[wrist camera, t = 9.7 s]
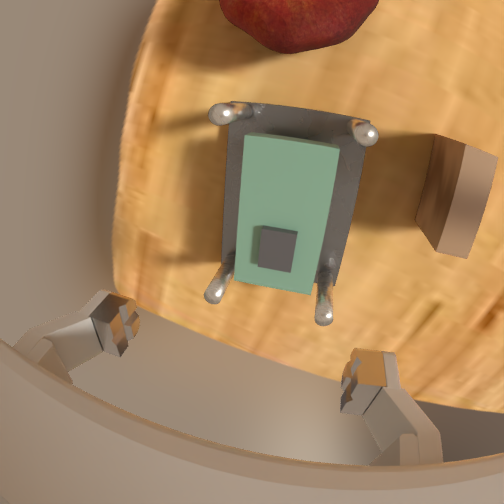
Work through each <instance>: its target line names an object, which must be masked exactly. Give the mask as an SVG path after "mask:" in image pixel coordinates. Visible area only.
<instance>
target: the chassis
mask: <svg viewBox="0 0 504 504" xmlns="http://www.w3.org/2000/svg"><path fill="white" fill-rule="evenodd" d="M208 117H209V120H210V121H211V122H212V123H213V124H215V125H225V124H229V131H228V145H227V161H226V177H225V195H224V214H223V236H222V260H221V266H220V268H219V269H218V271H217V273H216V274H215V276H214V278H213V279H212V281H211V283H210V284H209V286H208V288H207V289H206V291H205V293H204V298H205V300H206V301H207V302H209V303H210V304H218V303H219V302H220V301H221V299H222V297H223V295H224V293H225V291H226V289H227V287H228V285H229V283H230V281H231V279H232V277H233V275H234V272H235V257H236V242H237V228H238V214H239V200H240V187H241V174H242V162H243V149H244V137H245V135H246V134H248V133H251V132H254V133H263V134H271V135H279V136H287V137H294V138H300V139H307V140H313V141H319V142H324V143H330V144H335V145H338V146H339V148H340V152H339V158H338V164H337V170H336V176H335V182H334V187H333V193H332V198H331V203H330V208H329V214H328V219H327V224H326V228H325V233H324V238H323V243H322V247H321V252H320V256H319V261H318V265H317V270H316V274H315V278H314V283H317V295H316V309H315V322H316V323H317V324H318V325H320V326H327V325H329V324H331V323H332V321H333V286H335V283H336V280H337V276H338V272H339V268H340V265H341V261H342V257H343V253H344V249H345V245H346V241H347V237H348V233H349V229H350V225H351V220H352V216H353V211H354V207H355V202H356V198H357V193H358V188H359V183H360V178H361V173H362V168H363V162H364V157H365V151H366V147H368V146H372V145H374V144H375V143H376V142H377V140H378V131H377V129H376V128H375V127H374V126H373V125H371V124H370V121H369V120H365V119H360V118H356V117H351V116H346V115H341V114H335V113H330V112H324V111H318V110H311V109H305V108H298V107H290V106H282V105H273V104H263V103H251V102H238V101H231V103H219V104H215V105H213V106H212V107H211V108H210V110H209V113H208Z"/></svg>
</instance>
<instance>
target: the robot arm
mask: <svg viewBox="0 0 504 504" xmlns="http://www.w3.org/2000/svg"><path fill="white" fill-rule="evenodd" d="M136 308H137V305H136V301H135V300H134V299H132V298H129V297H126V296H123V295H120V294H117V293H114V292H110V291H107V290H104V289H102V290H100V291H99V292H98V293H97V294H96V295H95V296H94V297H93V298H92V299H91V300H90V301H89V302H88V303H87V304H86V305H85V306H84V307H83V308H82V309H81V311H79V312H73V313H70V314H67V315H65V316H62V317H59V318H57V319H54V320H51V321H49V322H46V323H43V324H41V325H38V326H36V327H33V328H30V329H29V330H28V331H27V332H26V333H25V334H24V335H23V336H22V337H21V338H20V340H19V341H18V342H17V343H16V344H15V345H14V346H13V347H11V346H10V345H9V344H7V343H6V342H4V341H3V340H2V339H0V504H504V453H500V454H496V455H491V456H486V457H480V458H475V459H468V460H462V461H454V462H446V463H443V455H442V445H441V438H440V432H439V431H438V429H437V428H436V427H435V426H434V424H433V423H432V422H431V421H430V420H429V418H428V417H427V416H426V415H425V413H424V412H423V411H422V410H421V408H420V407H419V406H418V405H417V404H416V402H415V401H414V400H413V399H412V397H411V396H410V395H409V394H408V393H407V391H406V390H405V389H401V386H400V379H399V372H398V366H397V360H396V355H395V353H394V352H385V351H376V350H368V349H360V348H354V349H353V351H352V353H351V361H349V362H348V363H347V364H346V366H345V368H344V371H343V375H342V381H341V388H342V389H343V391H344V393H343V394H342V396H341V407H340V412H341V413H347V414H355V415H363V416H362V417H363V419H364V421H365V423H366V424H367V426H368V428H369V430H370V432H371V434H372V436H373V437H374V439H375V441H376V443H377V445H378V446H379V448H380V450H381V452H382V454H380V455H379V456H378V457H377V458H376V459H375V460H374V461H372V462H371V463H370V464H369V466H362V465H343V464H331V463H321V462H311V461H304V460H297V459H290V458H283V457H278V456H272V455H267V454H262V453H256V452H252V451H248V450H243V449H239V448H235V447H231V446H226V445H223V444H219V443H215V442H212V441H208V440H205V439H201V438H198V437H195V436H192V435H189V434H185V433H182V432H179V431H177V430H174V429H171V428H168V427H165V426H162V425H160V424H157V423H154V422H151V421H149V420H147V419H144V418H141V417H139V416H137V415H134V414H132V413H129V412H127V411H125V410H123V409H120V408H118V407H116V406H113V405H111V404H109V403H107V402H105V401H103V400H101V399H99V398H96V397H95V396H93V395H91V394H88V393H87V392H85V391H83V390H81V389H79V388H77V387H76V386H74V385H72V384H73V382H72V379H71V377H70V376H69V374H68V372H69V371H70V370H72V369H74V368H76V367H78V366H79V365H81V364H83V363H84V362H86V361H88V360H90V359H92V358H93V357H95V356H97V355H99V354H100V353H102V352H103V351H105V352H107V353H110V354H113V355H115V356H118V357H121V356H122V354H123V353H124V351H125V350H126V349H127V347H128V340H131V339H133V338H134V337H135V336H136V334H137V332H138V329H139V326H140V319H139V315H138V314H137V313H136V312H135V309H136Z"/></svg>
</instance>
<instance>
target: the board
mask: <svg viewBox="0 0 504 504" xmlns="http://www.w3.org/2000/svg"><path fill="white" fill-rule="evenodd" d="M339 152H340V148H339V146H338V145H335V144H330V143H324V142H319V141H313V140H307V139H300V138H294V137H287V136H279V135H271V134H263V133H254V132H251V133H248V134H246V135H245V137H244V149H243V162H242V174H241V187H240V200H239V214H238V228H237V242H236V257H235V272H234V280H235V281H240V282H245V283H250V284H255V285H260V286H265V287H271V288H276V289H281V290H286V291H292V292H297V293H302V294H308V295H311V291H312V287H313V283H314V278H315V274H316V270H317V265H318V261H319V256H320V252H321V247H322V243H323V238H324V233H325V228H326V224H327V219H328V214H329V208H330V203H331V198H332V193H333V187H334V182H335V176H336V170H337V164H338V158H339Z"/></svg>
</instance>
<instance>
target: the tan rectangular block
mask: <svg viewBox="0 0 504 504" xmlns="http://www.w3.org/2000/svg"><path fill="white" fill-rule="evenodd" d="M497 161H498V157H496V156H494V155H492V154H489V153H487V152H484V151H482V150H480V149H477V148H475V147H472V146H469V145H467V144H464V143H461V142H458V141H456V140H453V139H450V138H447V137H444V136H441V135H438V134H435V139H434V144H433V149H432V154H431V159H430V164H429V168H428V173H427V177H426V181H425V185H424V189H423V193H422V197H421V201H420V204H419V208H418V212H417V215H416V219H415V221H416V223H417V224H418V226H419V227H420V229H421V230H422V232H423V233H424V234H425V236H426V237H427V239H428V241H429V242H430V244H431V245H432V247H433V248H434V250H435V251H436V252H439V253H443V254H448V255H452V256H456V257H461V258H465V259H467V258H468V255H469V253H470V250H471V247H472V245H473V242H474V239H475V237H476V234H477V231H478V228H479V225H480V222H481V219H482V216H483V213H484V210H485V207H486V203H487V200H488V196H489V193H490V189H491V186H492V182H493V178H494V174H495V169H496V165H497Z"/></svg>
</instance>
